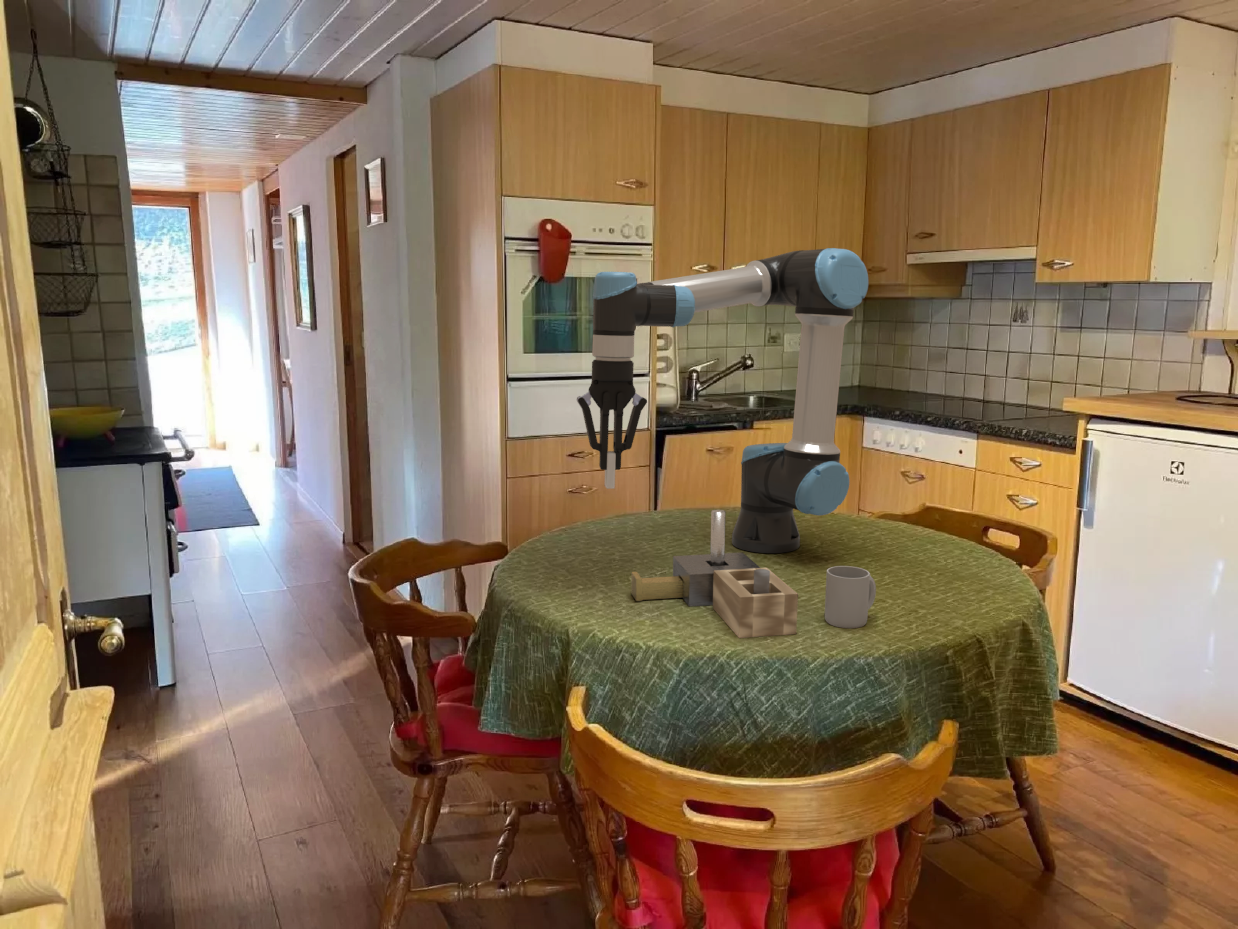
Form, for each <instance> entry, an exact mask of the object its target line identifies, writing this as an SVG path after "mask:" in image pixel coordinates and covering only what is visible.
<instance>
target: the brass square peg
mask: <svg viewBox="0 0 1238 929" xmlns="http://www.w3.org/2000/svg"><path fill="white" fill-rule="evenodd" d="M630 578H631V583H630V584H631V585H630V586H631V590H630V592H631V593H630V594H631V595H632V597H633V599H635V601H636V602H642V601H645V600H646V601H647V600H662V599H663V600H664V599H678V598H683V579H682V578H681V576H673V575H671V576H656V577H641V576H640V574H639V573H638V571H631V577H630Z"/></svg>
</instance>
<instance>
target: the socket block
mask: <svg viewBox="0 0 1238 929" xmlns="http://www.w3.org/2000/svg"><path fill="white" fill-rule="evenodd" d="M710 554H711V553H710ZM710 554H709V553H707V554H706V553H705V554H692V555H689V554H688V555H687V554H686V555H673V557H672V576H681V578H682V579H683V597H682V599H683V600H684V602H685V604H687V606H688V607H700V606H713V576H714V571H715V570H733V569H750V568H761V566H759V565H758V564H757V563H756V562H754V560H752V559H751V558H750V557H748V556H747V555H746V554H745V553H744V552H724V566H710Z"/></svg>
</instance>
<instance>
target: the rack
mask: <svg viewBox="0 0 1238 929" xmlns="http://www.w3.org/2000/svg"><path fill="white" fill-rule="evenodd" d="M798 602H799V594H798V592H796V590H794V589H793V588H792V587H791V586H790V585H789V584H787V583H786V582H784V580H782V579H781V578H780V577H779V576H778V575H776V574H775V573H774V572H773V571H772V570H770V569H769V567H760V568H750V569H733V570H715V571H714V576H713V605H712V609H713V610H714V611H715V612H716V613H717V615H719V617H720V618H721V620H723V622H724V623H726V625H727V626H728V627H729V628H730V629H731V631H733V633H734V634H735V635H736V636H737V637H738V638H739V639H743V638H756V637H757V638H758V637H771V636H785V635H786V636H787V635H797V630H798V628H797V625H798V606H799V605H798Z"/></svg>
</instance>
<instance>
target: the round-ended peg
mask: <svg viewBox="0 0 1238 929" xmlns="http://www.w3.org/2000/svg"><path fill="white" fill-rule="evenodd" d="M710 512H711V513H710V514H711V516H710V518H711V520H710V566H724V553H726V552H725V549H726V547H725V545H726V544H725V543H726V542H725V541H726V510H723V509H713V510H711V511H710Z"/></svg>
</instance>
